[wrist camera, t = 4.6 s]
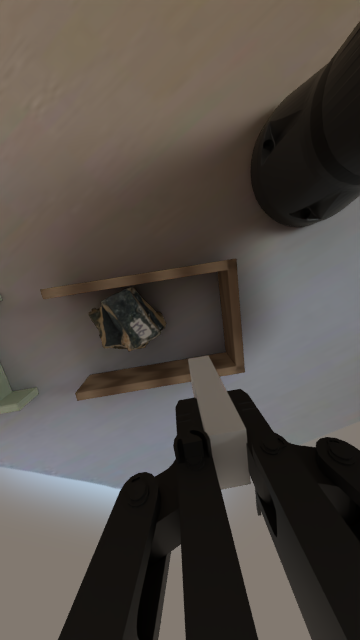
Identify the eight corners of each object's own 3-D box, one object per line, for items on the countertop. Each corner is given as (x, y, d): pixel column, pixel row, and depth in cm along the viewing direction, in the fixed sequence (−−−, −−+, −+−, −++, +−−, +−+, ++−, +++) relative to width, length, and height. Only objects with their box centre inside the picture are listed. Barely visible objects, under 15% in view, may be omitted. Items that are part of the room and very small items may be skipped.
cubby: (91, 381, 31) (77, 400, 26) (63, 287, 27) (40, 289, 22) (233, 357, 31) (244, 372, 27) (224, 261, 28) (236, 258, 23)
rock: (89, 310, 28) (70, 316, 22) (143, 280, 27) (138, 278, 22) (119, 357, 29) (109, 374, 24) (171, 329, 29) (173, 339, 24)
